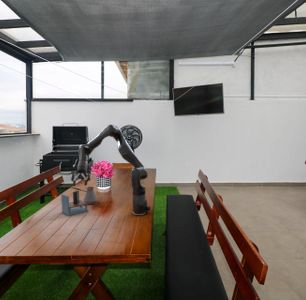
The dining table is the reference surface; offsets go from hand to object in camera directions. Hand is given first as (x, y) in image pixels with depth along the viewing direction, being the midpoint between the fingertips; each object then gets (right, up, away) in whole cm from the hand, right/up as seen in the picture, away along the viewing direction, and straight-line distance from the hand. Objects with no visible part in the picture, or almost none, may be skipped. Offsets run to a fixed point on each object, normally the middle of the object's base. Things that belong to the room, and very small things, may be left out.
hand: (79, 185), depth 194 cm
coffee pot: (0, -17, +15) cm, 23 cm away
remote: (-2, -13, -3) cm, 13 cm away
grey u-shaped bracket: (-2, -19, -3) cm, 19 cm away
